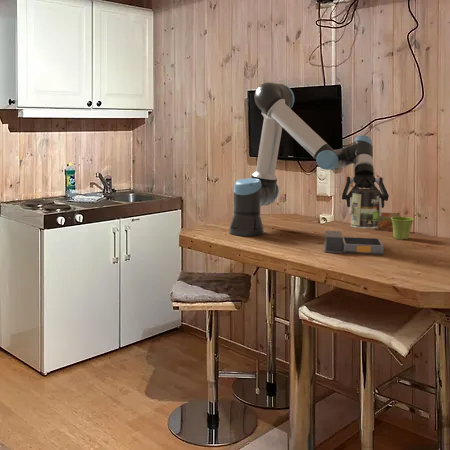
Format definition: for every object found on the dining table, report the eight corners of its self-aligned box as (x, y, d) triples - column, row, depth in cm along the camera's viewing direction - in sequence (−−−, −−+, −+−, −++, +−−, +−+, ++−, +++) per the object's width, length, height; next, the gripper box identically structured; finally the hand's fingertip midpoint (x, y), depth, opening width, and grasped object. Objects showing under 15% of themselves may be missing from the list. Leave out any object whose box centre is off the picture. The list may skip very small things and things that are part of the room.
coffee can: (382, 226, 224) (384, 189, 222) (371, 230, 216) (373, 192, 214) (357, 223, 231) (359, 187, 228) (345, 226, 222) (347, 190, 220)
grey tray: (324, 252, 220) (325, 237, 219) (323, 244, 234) (324, 230, 233) (383, 255, 217) (384, 239, 216) (378, 247, 231) (379, 232, 230)
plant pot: (409, 241, 244) (410, 221, 242) (386, 238, 248) (388, 218, 247) (415, 238, 251) (416, 218, 250) (393, 235, 256) (394, 215, 255)
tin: (368, 229, 270) (369, 211, 269) (369, 228, 273) (370, 210, 272) (402, 232, 265) (403, 213, 263) (402, 231, 268) (404, 212, 266)
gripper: (391, 175, 234) (395, 220, 221) (334, 174, 237) (334, 218, 224) (394, 162, 228) (398, 208, 215) (335, 161, 231) (335, 206, 218)
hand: (365, 213), depth 220 cm, fingers closed on coffee can, 10 cm apart
